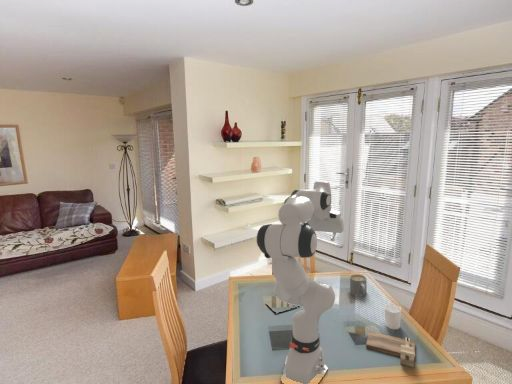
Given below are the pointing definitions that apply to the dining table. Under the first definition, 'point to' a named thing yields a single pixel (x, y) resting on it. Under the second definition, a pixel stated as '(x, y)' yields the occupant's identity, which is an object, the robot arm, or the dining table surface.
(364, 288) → the coffee mug
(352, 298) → the dining table surface
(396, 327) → the white cup
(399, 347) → the board
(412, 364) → the gauge
